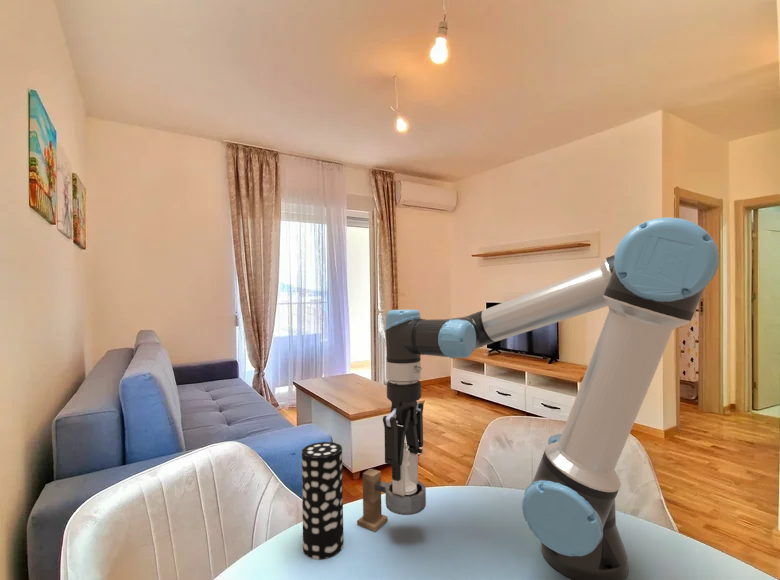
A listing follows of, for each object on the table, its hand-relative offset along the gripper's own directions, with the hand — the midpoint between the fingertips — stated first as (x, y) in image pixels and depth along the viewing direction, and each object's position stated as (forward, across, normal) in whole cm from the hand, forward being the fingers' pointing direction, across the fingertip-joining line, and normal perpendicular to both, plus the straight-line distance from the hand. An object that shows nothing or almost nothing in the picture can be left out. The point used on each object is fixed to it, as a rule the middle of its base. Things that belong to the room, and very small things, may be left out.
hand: (405, 488), depth 84 cm
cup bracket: (+3, 0, +3) cm, 4 cm away
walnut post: (+10, 0, +9) cm, 14 cm away
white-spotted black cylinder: (+10, -12, +13) cm, 21 cm away
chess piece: (+1, 0, 0) cm, 1 cm away
